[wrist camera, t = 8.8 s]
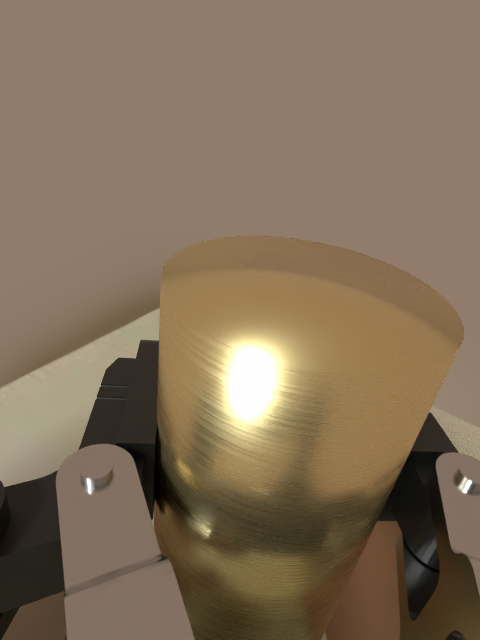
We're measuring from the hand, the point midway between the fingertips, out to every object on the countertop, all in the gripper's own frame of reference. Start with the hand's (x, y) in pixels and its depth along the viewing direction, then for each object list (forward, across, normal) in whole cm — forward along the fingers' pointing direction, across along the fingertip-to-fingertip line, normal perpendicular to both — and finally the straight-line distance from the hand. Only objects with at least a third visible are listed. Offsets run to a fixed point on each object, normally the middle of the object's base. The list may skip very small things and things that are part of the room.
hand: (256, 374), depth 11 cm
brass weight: (-3, 0, +6) cm, 7 cm away
